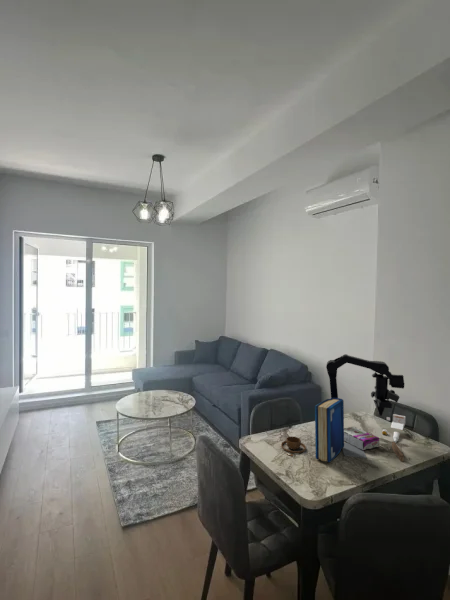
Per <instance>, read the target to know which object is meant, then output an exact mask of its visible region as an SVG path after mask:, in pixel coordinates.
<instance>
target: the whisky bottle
mask: <svg viewBox="0 0 450 600" xmlns="http://www.w3.org/2000/svg"><path fill="white" fill-rule="evenodd" d="M386 421H391V417H389V416H386ZM405 426H406V416H405V415H399V414H397V413H394V414H392V422H391V425H390V428H391V429H395V431H393V436H392V440H393V442H395V443H396V444H397V442H398V441H399V438H400V432H399V431H396V430H400V431H403V430H404V427H405ZM381 434H382V435H385V436H387V435H388V430H387V429H386V428H383V429H382V431H381Z"/></svg>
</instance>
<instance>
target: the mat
mask: <svg viewBox="0 0 450 600" xmlns="http://www.w3.org/2000/svg"><path fill="white" fill-rule="evenodd" d="M341 451H342V454H343V456H345V457H352V458H359V459H368V458H367V455H366V453H365V450H361V449H359V448H358V447H356V446H354V445H352V444H350V443H348V442H344V447H343V448H342V449H341Z"/></svg>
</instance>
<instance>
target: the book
mask: <svg viewBox="0 0 450 600" xmlns="http://www.w3.org/2000/svg"><path fill="white" fill-rule="evenodd" d="M344 406H345V405H344V399H342V398H339V397H338V398H331V397H330V398H327V399H325V400H322V401H321V402H319V403H318V404H316V405H314V426H315V427H314V431H315V434H314V435H315V459H316V460H318V459H319V460H320V461H322V462H327V463H331V462H332V461H333V460H335V458H336V457H337V456H338V455H339V454H340V453H341V451H342V448H343V447H344V443H345V441H344V428H345V420H344V419H345V418H344V417H345V415H344V412H345V411H344V410H345V408H344Z"/></svg>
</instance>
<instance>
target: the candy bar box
mask: <svg viewBox="0 0 450 600" xmlns="http://www.w3.org/2000/svg"><path fill="white" fill-rule="evenodd" d="M344 442H345V443H350V444H352V445H354V446H356V447H358V448H359V449H361V450H364V451H366V450H371V449H375V448H379V447H380V437H378V436H376V435H374V434H371V433H369V432H368V431H365V430H363V429H361V428H358V427H356V426H351V427H349V426H348V427H344Z"/></svg>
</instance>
